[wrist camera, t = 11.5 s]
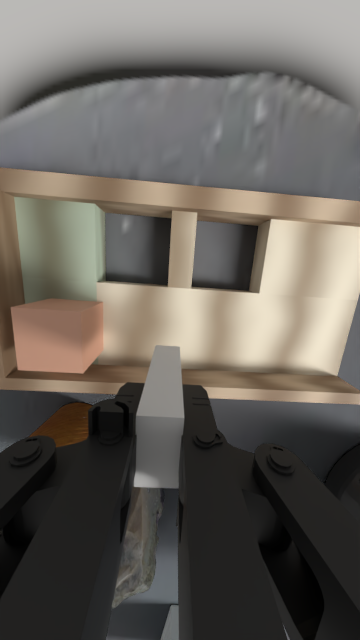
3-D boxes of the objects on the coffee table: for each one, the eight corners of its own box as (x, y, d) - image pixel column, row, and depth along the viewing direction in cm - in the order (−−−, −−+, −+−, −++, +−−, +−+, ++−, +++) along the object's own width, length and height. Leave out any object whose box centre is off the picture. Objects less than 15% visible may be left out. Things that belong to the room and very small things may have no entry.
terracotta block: (103, 301, 18) (80, 312, 13) (103, 349, 19) (83, 373, 14) (50, 298, 17) (10, 307, 13) (53, 347, 18) (17, 370, 14)
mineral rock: (69, 530, 27) (10, 677, 17) (54, 464, 25) (-24, 592, 15) (167, 523, 27) (164, 664, 18) (163, 457, 25) (156, 578, 15)
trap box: (355, 216, 19) (426, 195, 14) (317, 373, 23) (361, 404, 17) (21, 186, 18) (-44, 149, 12) (38, 359, 21) (-7, 389, 16)
